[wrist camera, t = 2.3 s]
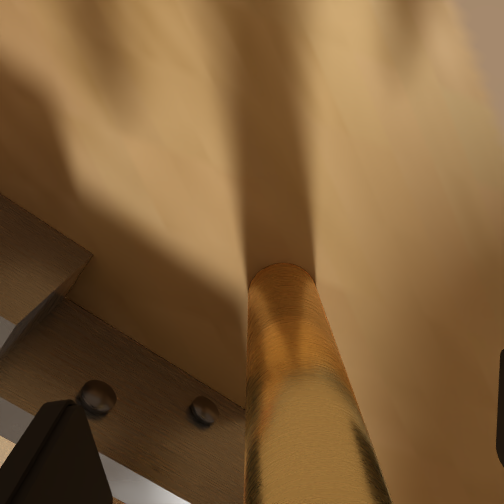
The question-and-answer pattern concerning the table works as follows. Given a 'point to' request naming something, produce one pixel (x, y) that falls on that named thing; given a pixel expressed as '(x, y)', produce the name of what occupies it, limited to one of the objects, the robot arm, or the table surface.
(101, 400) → the hinge body
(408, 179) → the table surface
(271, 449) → the hinge pin
